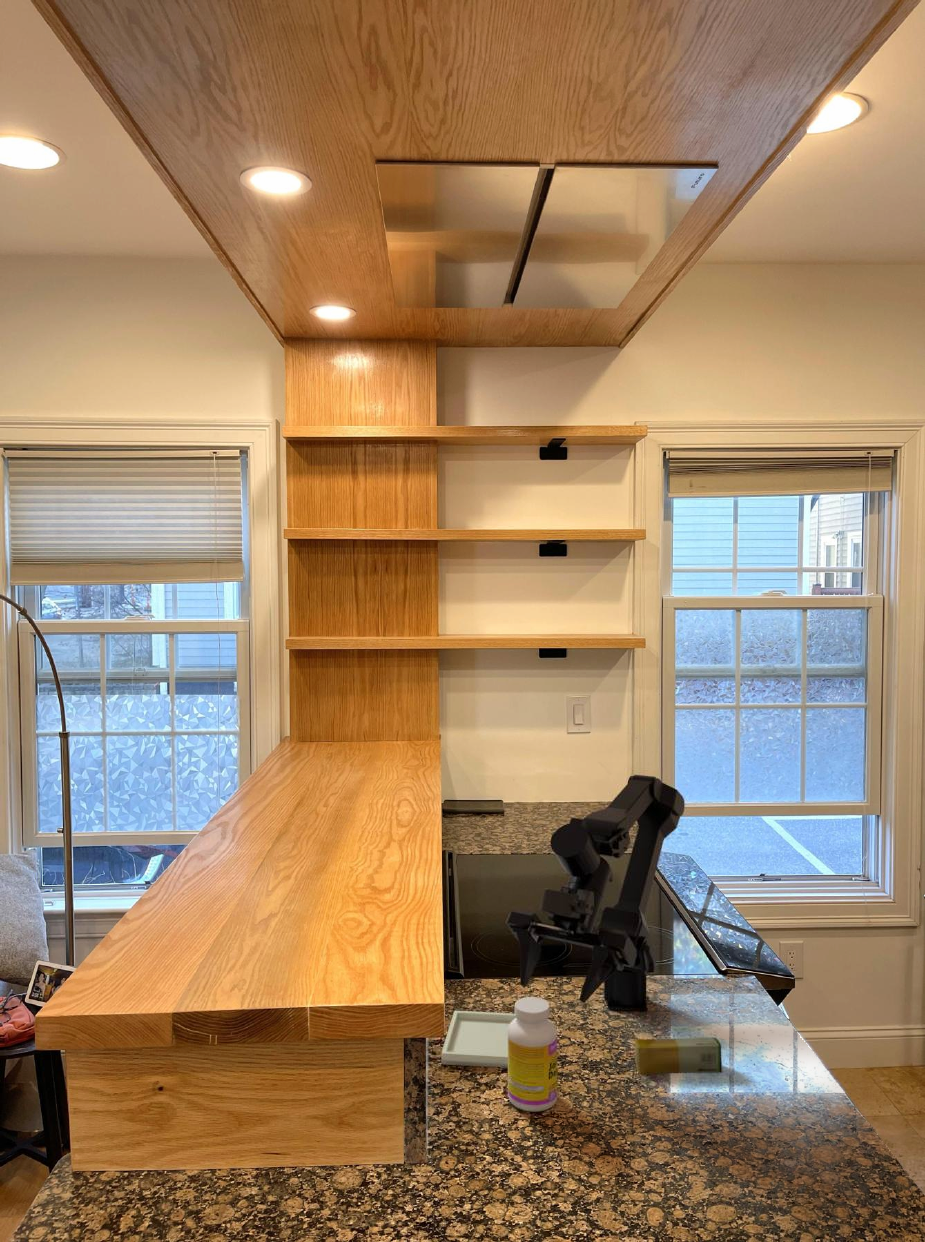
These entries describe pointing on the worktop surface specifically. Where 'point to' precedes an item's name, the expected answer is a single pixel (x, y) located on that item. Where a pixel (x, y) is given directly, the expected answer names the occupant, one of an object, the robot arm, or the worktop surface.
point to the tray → (477, 1039)
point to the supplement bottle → (532, 1056)
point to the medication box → (678, 1055)
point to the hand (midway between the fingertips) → (551, 993)
